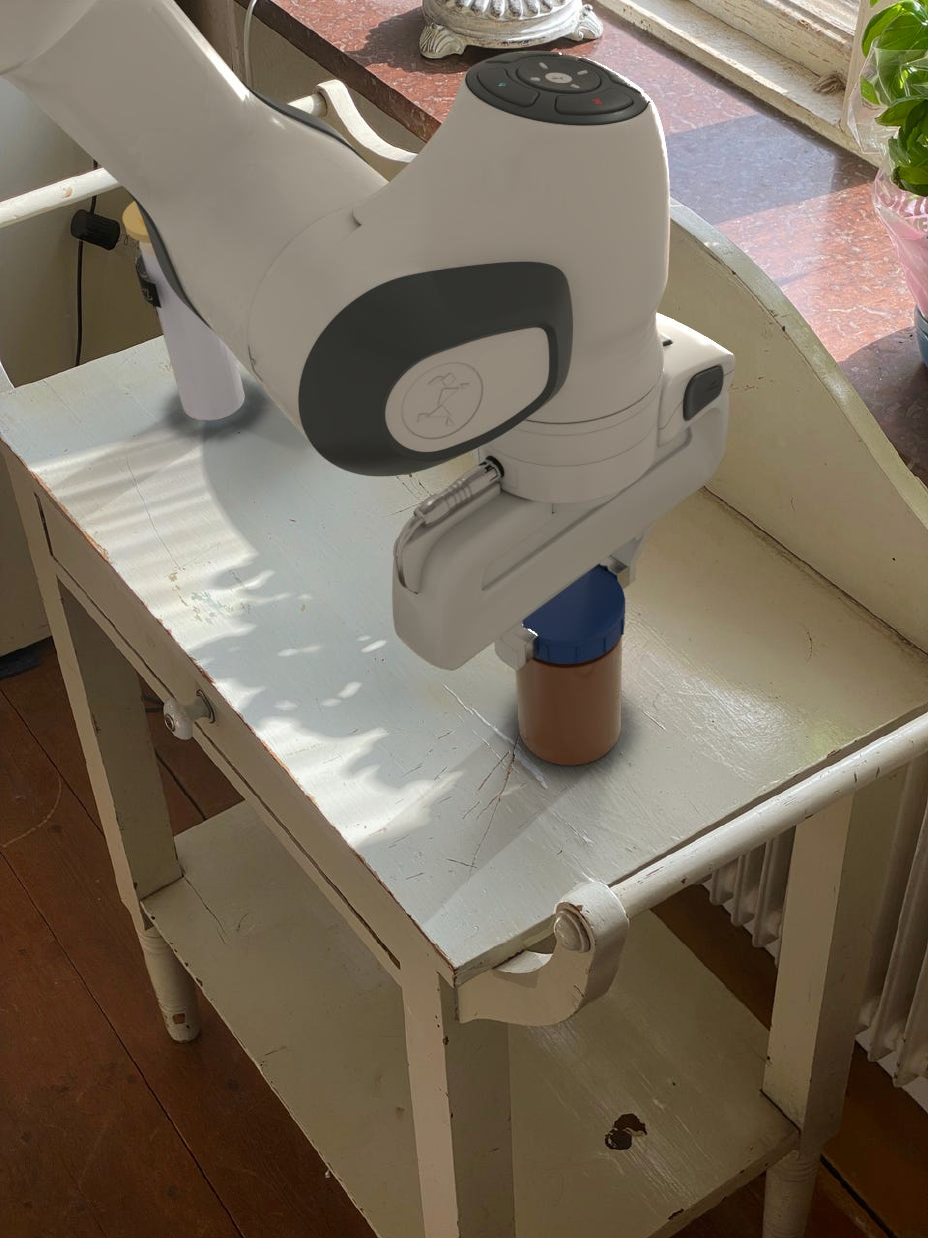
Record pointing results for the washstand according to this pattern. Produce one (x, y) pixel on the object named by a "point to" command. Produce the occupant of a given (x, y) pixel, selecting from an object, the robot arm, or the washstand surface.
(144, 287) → the perfume bottle
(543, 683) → the jar
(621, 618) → the jar lid
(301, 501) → the washstand surface
